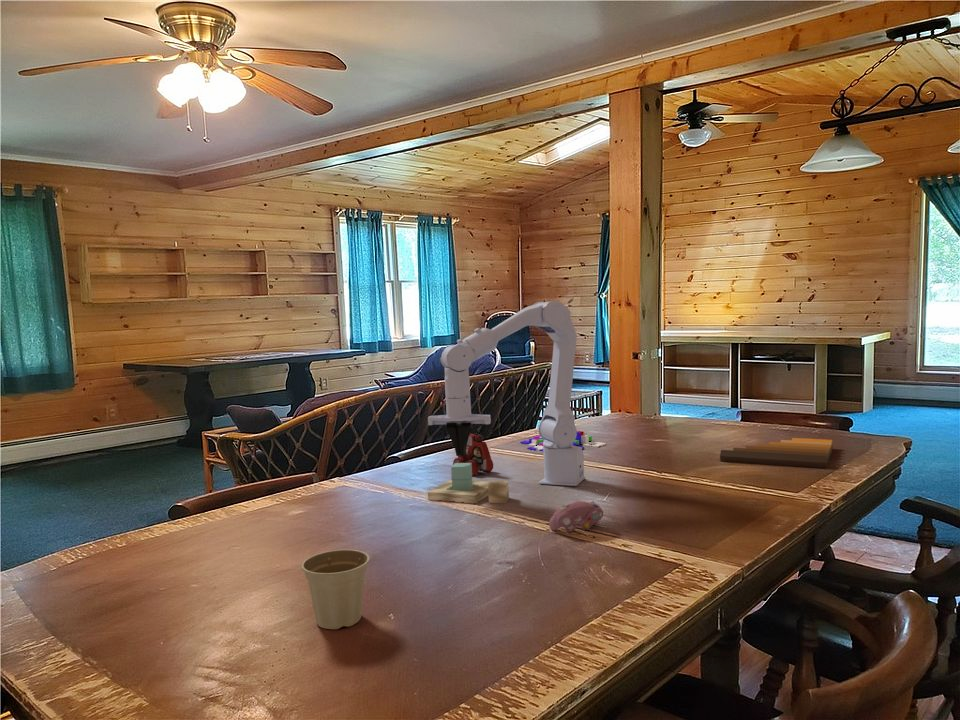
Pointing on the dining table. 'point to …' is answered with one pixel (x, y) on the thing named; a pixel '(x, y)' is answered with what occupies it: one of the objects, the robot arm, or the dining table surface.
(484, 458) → the toy fire truck
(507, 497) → the maple cube
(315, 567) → the flower pot
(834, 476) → the dining table surface
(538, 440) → the building block set
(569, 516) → the video game controller
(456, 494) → the base plate
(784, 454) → the pan flute
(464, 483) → the teal brick
